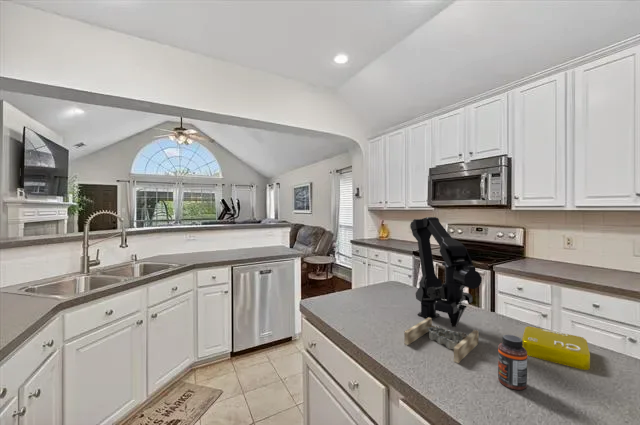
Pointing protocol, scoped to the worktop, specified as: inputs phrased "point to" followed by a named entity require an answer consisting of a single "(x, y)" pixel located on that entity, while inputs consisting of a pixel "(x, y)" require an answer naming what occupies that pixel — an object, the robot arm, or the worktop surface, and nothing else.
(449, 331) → the egg carton
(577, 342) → the element tile
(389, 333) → the worktop surface
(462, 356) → the open wooden frame
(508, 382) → the supplement bottle
